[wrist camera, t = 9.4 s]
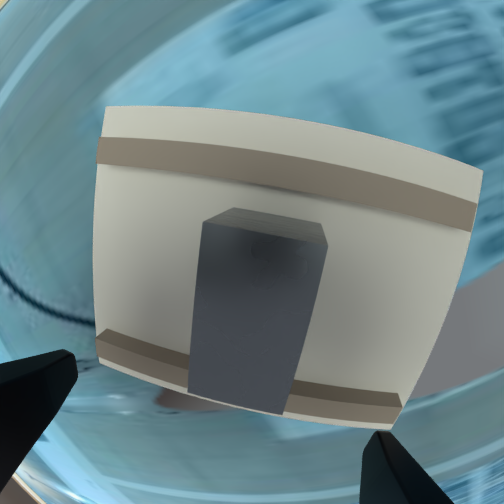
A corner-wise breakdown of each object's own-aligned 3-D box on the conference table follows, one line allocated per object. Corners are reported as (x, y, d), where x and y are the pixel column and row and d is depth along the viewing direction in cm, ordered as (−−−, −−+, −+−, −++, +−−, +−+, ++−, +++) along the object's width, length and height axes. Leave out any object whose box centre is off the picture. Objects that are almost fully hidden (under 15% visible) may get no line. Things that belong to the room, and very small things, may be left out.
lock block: (321, 223, 15) (328, 245, 10) (289, 357, 17) (282, 415, 13) (233, 207, 16) (202, 221, 11) (215, 341, 18) (187, 392, 13)
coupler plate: (473, 170, 14) (497, 171, 11) (387, 418, 19) (393, 443, 16) (116, 109, 17) (91, 102, 14) (107, 355, 21) (89, 373, 19)
